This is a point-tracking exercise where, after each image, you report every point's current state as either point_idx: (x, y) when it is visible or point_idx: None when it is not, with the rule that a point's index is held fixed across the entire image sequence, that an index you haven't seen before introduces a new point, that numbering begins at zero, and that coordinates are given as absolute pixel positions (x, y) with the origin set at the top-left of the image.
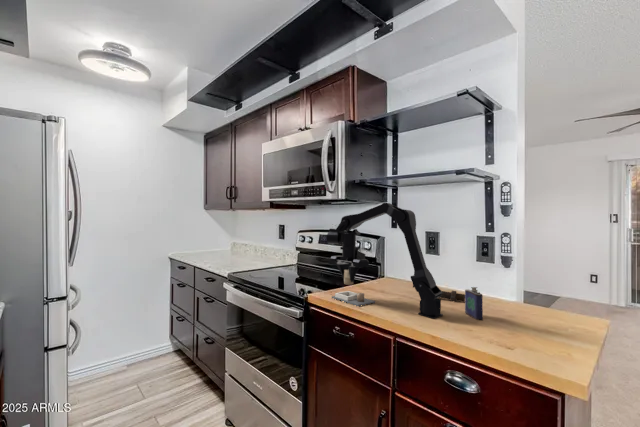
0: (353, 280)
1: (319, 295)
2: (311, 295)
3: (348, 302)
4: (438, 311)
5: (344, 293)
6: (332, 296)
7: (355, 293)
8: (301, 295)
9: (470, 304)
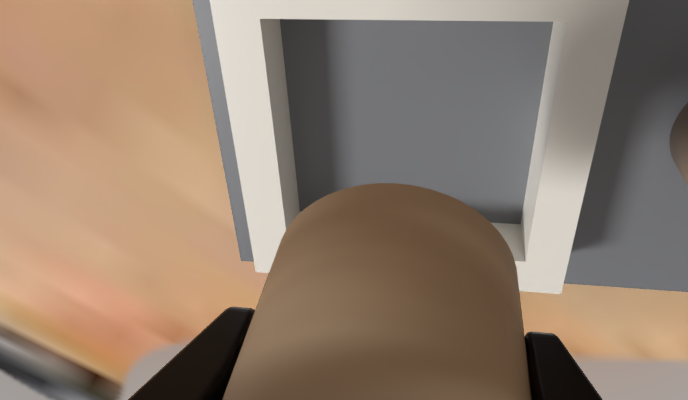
0: (572, 362)
1: (51, 254)
2: (29, 311)
3: (604, 278)
4: None
5: (277, 109)
6: (247, 254)
7: (479, 14)
8: (6, 370)
9: None
